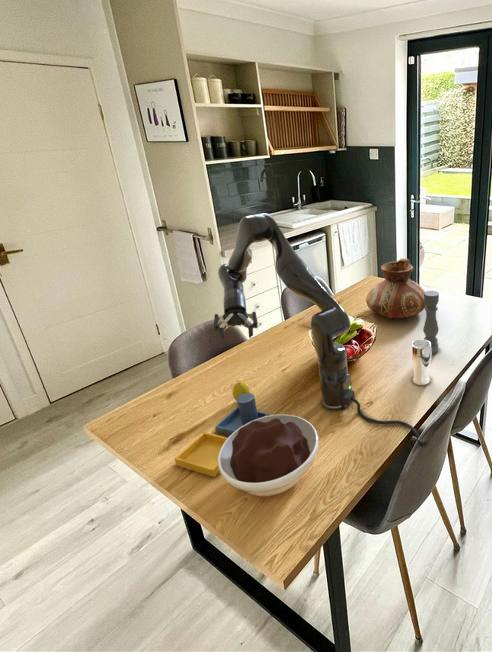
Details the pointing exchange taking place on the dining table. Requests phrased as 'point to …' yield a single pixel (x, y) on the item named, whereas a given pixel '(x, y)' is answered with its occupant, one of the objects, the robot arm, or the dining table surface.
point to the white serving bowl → (268, 454)
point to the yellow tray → (202, 454)
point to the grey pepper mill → (431, 319)
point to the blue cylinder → (247, 408)
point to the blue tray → (233, 422)
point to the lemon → (240, 389)
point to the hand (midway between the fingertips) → (237, 337)
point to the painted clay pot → (396, 292)
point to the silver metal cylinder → (421, 361)
